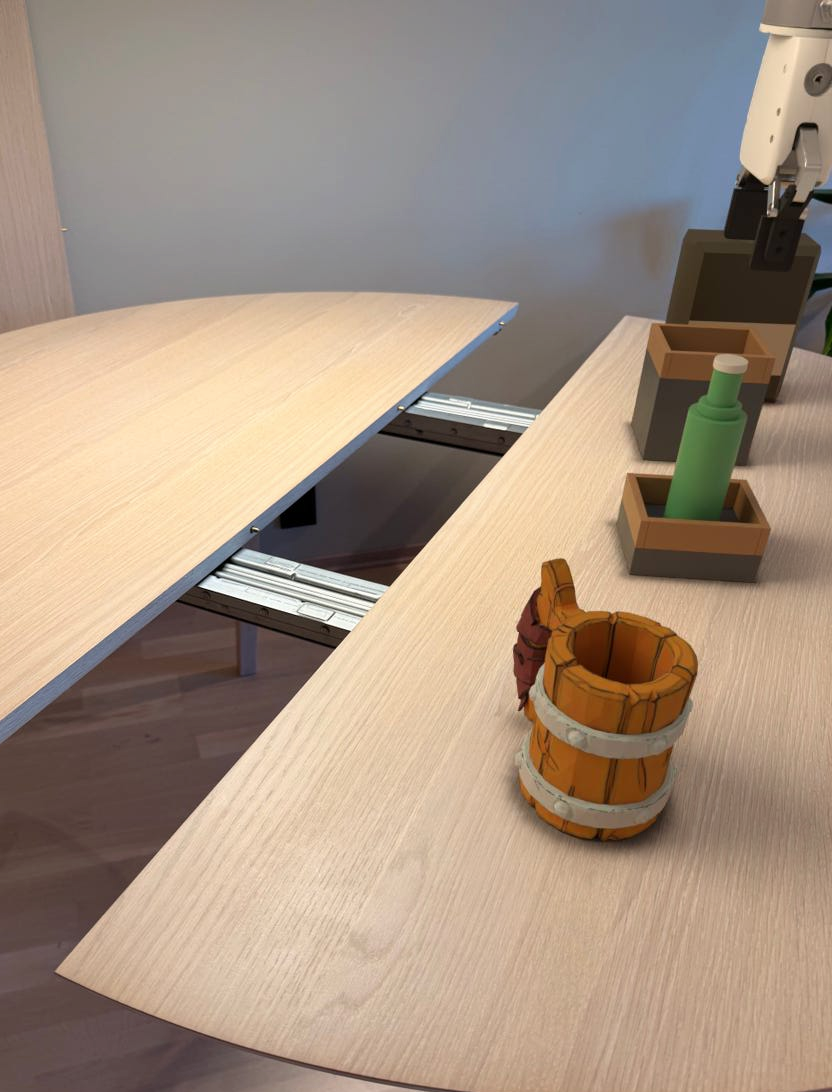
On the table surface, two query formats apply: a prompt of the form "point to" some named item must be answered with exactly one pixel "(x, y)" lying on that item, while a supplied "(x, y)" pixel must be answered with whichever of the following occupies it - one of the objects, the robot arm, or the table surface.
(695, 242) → the dark boxy piece
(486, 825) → the table surface
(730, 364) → the green bottle
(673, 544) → the shallow open tray
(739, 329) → the grey storage bin
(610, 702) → the mug
